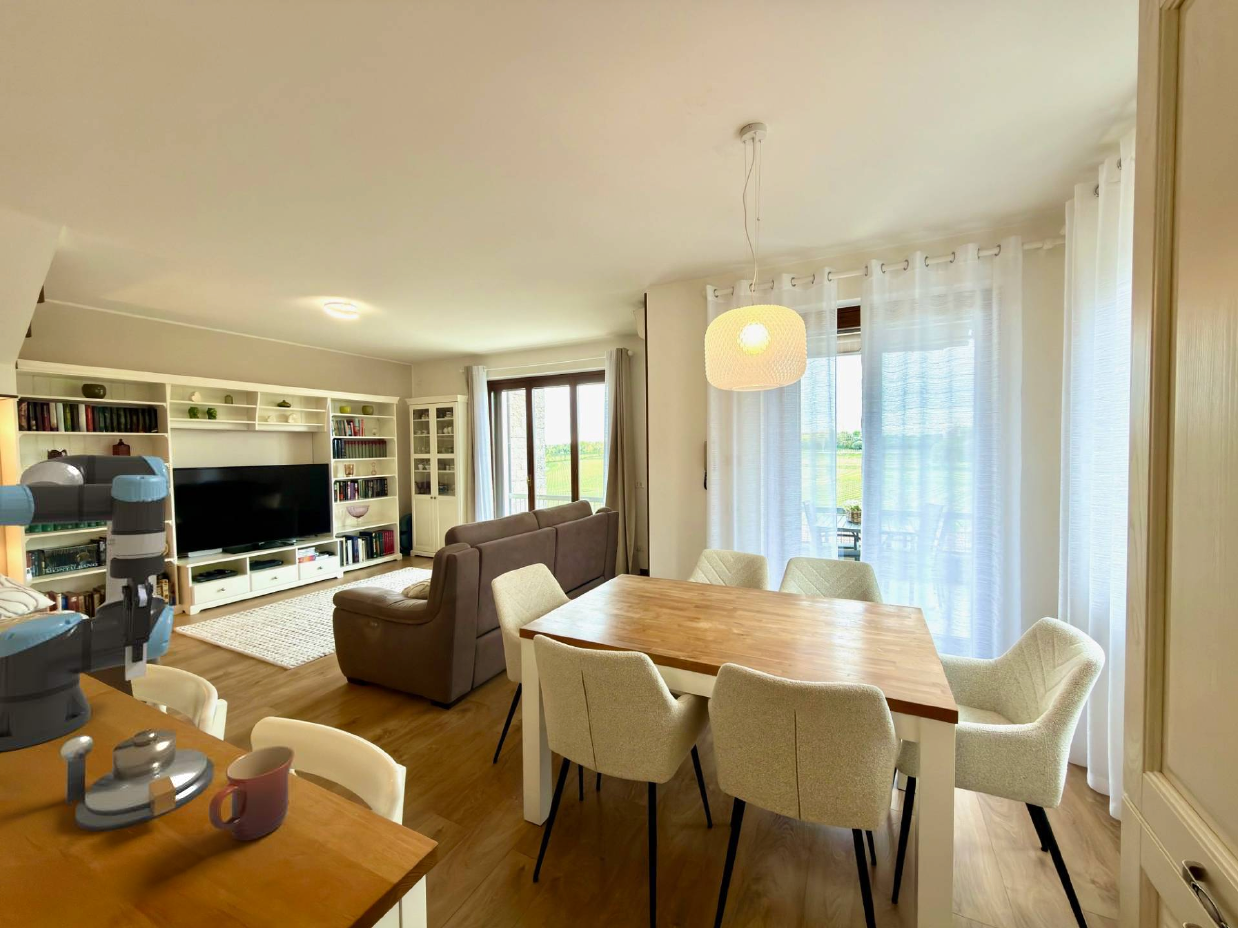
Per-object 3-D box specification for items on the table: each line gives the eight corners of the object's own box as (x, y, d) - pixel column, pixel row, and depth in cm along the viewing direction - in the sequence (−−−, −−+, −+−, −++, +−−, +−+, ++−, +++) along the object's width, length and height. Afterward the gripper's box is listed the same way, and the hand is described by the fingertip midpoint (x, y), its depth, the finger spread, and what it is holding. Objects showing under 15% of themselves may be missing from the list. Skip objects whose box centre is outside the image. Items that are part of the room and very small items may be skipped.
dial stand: (58, 801, 81) (60, 736, 81) (90, 790, 84) (91, 728, 84) (59, 808, 79) (61, 743, 79) (92, 797, 82) (93, 733, 82)
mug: (262, 802, 82) (263, 742, 82) (306, 811, 80) (307, 749, 80) (185, 859, 70) (187, 788, 70) (235, 870, 68) (236, 797, 68)
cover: (109, 766, 85) (110, 735, 85) (170, 746, 92) (171, 717, 92) (116, 785, 81) (116, 752, 81) (179, 762, 87) (180, 732, 87)
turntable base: (70, 798, 82) (70, 789, 82) (200, 752, 95) (200, 745, 95) (80, 848, 71) (81, 838, 71) (225, 789, 85) (225, 780, 85)
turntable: (80, 787, 82) (80, 764, 82) (195, 747, 94) (195, 728, 94) (94, 845, 70) (95, 819, 70) (225, 791, 82) (225, 769, 82)
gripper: (105, 553, 94) (102, 674, 94) (115, 562, 86) (112, 694, 86) (158, 548, 100) (155, 662, 100) (171, 556, 92) (169, 680, 92)
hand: (135, 676), depth 93 cm, fingers closed
